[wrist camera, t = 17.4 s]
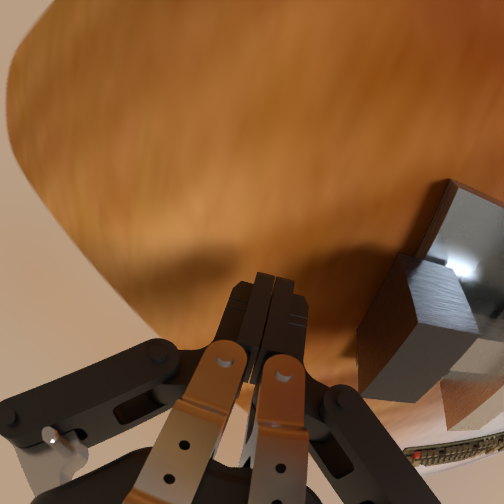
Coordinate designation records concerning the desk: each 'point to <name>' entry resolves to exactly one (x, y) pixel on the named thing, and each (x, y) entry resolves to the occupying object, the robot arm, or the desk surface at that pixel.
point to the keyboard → (454, 450)
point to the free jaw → (431, 345)
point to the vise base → (469, 246)
